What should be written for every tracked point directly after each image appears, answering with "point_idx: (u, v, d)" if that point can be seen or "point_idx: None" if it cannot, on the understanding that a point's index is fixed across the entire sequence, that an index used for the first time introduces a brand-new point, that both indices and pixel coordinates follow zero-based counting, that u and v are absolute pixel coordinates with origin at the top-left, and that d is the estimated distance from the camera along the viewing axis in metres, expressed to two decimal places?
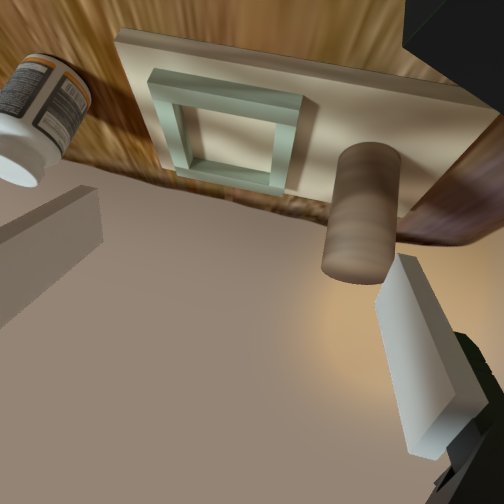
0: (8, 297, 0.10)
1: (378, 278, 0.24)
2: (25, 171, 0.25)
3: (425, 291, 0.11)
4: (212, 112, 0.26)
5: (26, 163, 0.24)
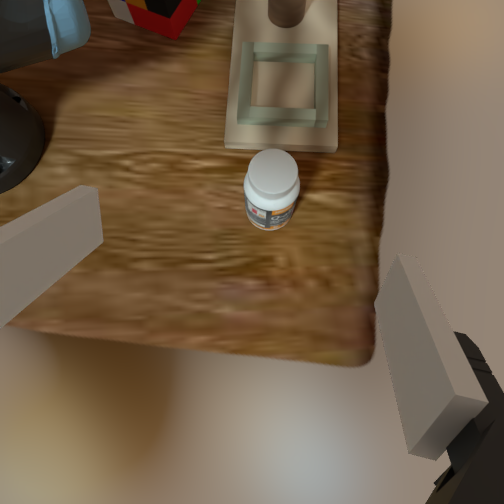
0: (8, 297, 0.10)
1: None
2: (268, 150, 0.30)
3: (425, 291, 0.11)
4: (264, 97, 0.41)
5: None
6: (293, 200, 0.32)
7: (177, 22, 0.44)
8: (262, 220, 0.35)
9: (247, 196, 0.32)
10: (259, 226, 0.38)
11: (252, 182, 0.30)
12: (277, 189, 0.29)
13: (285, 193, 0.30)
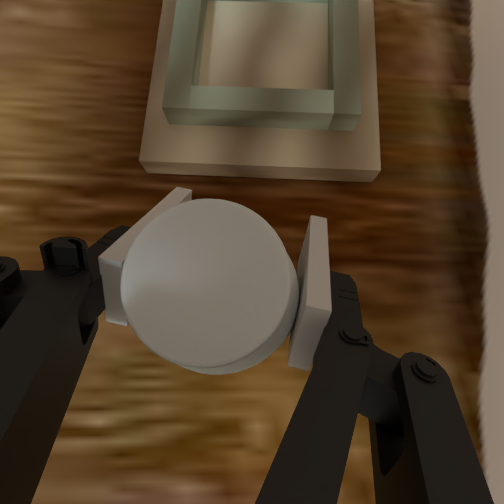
0: None
1: None
2: (194, 206, 0.09)
3: (320, 241, 0.13)
4: (227, 69, 0.20)
5: None
6: (280, 344, 0.11)
7: None
8: None
9: None
10: None
11: (131, 322, 0.08)
12: (217, 349, 0.08)
13: None
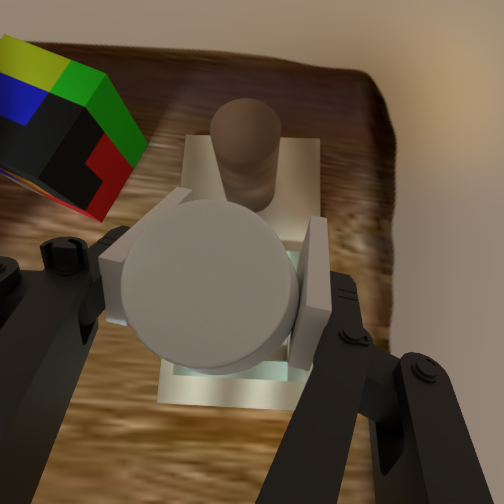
0: None
1: (250, 107, 0.23)
2: (194, 207, 0.09)
3: (320, 241, 0.13)
4: None
5: None
6: (280, 344, 0.11)
7: (100, 205, 0.32)
8: None
9: None
10: None
11: (131, 322, 0.08)
12: (217, 350, 0.08)
13: None
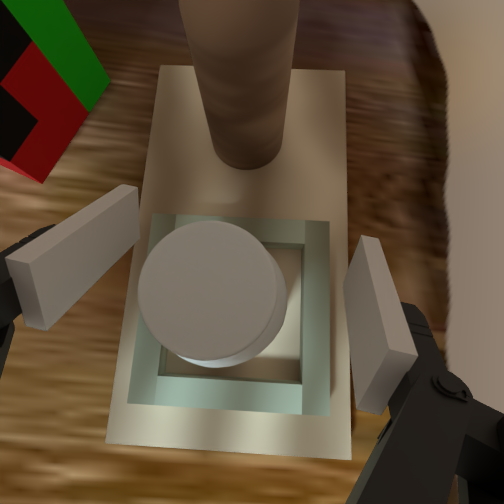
0: (67, 288, 0.11)
1: None
2: (197, 227, 0.11)
3: (380, 267, 0.12)
4: None
5: None
6: (271, 340, 0.13)
7: (37, 157, 0.23)
8: None
9: None
10: None
11: (147, 324, 0.10)
12: (217, 345, 0.10)
13: (243, 349, 0.11)
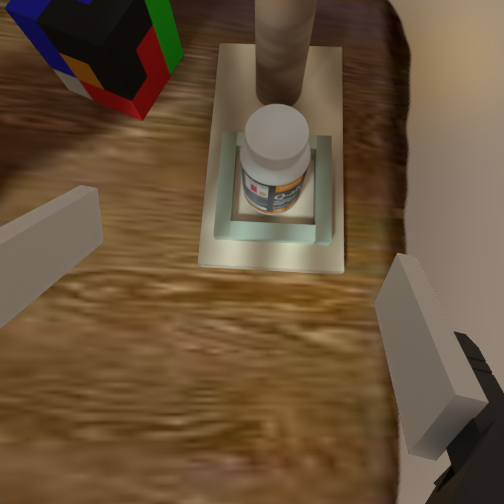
0: (8, 297, 0.10)
1: None
2: (271, 106, 0.24)
3: (425, 291, 0.11)
4: None
5: None
6: (302, 172, 0.25)
7: (143, 101, 0.35)
8: (263, 200, 0.29)
9: (244, 168, 0.26)
10: (260, 210, 0.31)
11: (250, 146, 0.23)
12: (283, 153, 0.23)
13: (293, 160, 0.23)
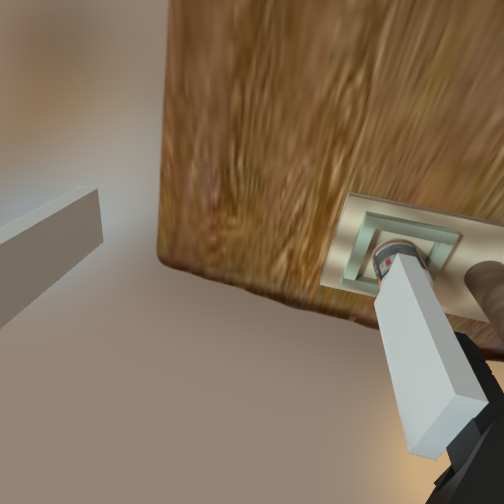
0: (8, 297, 0.10)
1: None
2: None
3: (425, 291, 0.11)
4: None
5: None
6: None
7: None
8: (379, 260, 0.40)
9: None
10: (377, 248, 0.41)
11: None
12: None
13: None
